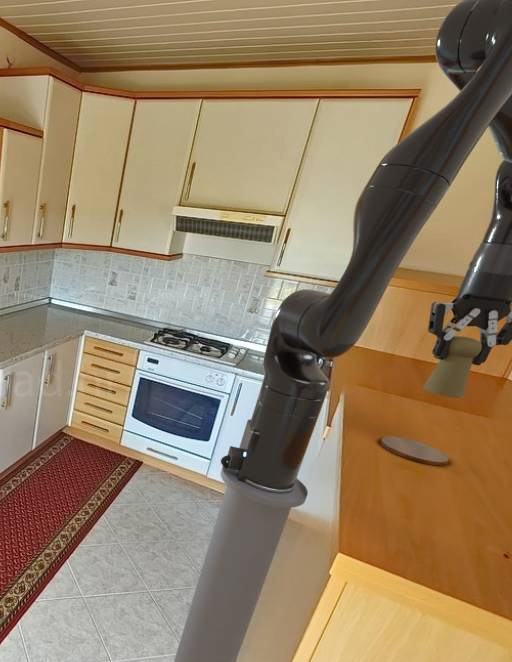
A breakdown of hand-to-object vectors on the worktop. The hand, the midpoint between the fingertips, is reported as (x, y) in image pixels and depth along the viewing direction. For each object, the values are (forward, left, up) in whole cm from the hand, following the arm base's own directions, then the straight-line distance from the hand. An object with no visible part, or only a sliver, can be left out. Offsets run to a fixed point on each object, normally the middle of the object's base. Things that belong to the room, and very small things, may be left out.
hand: (456, 360), depth 92 cm
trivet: (0, +1, -20) cm, 20 cm away
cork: (0, 0, -7) cm, 7 cm away
